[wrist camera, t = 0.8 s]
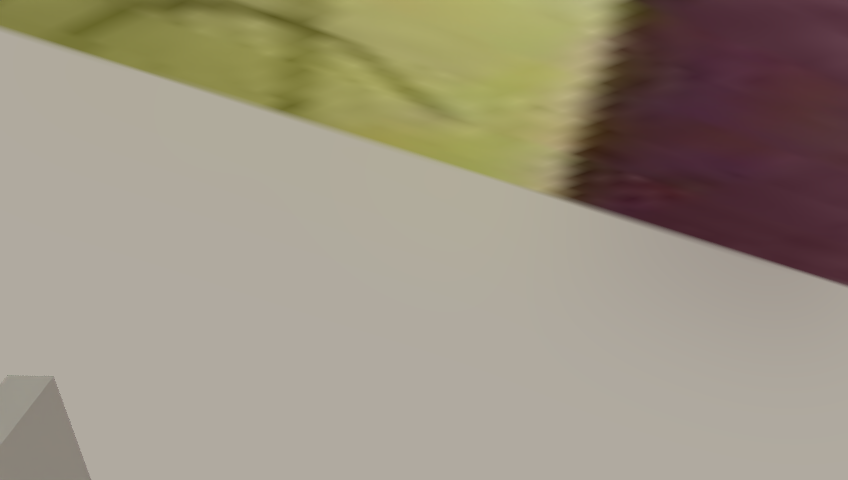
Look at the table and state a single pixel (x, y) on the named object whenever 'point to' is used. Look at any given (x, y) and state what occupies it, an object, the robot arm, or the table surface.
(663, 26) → the table surface
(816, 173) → the table surface
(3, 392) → the robot arm
